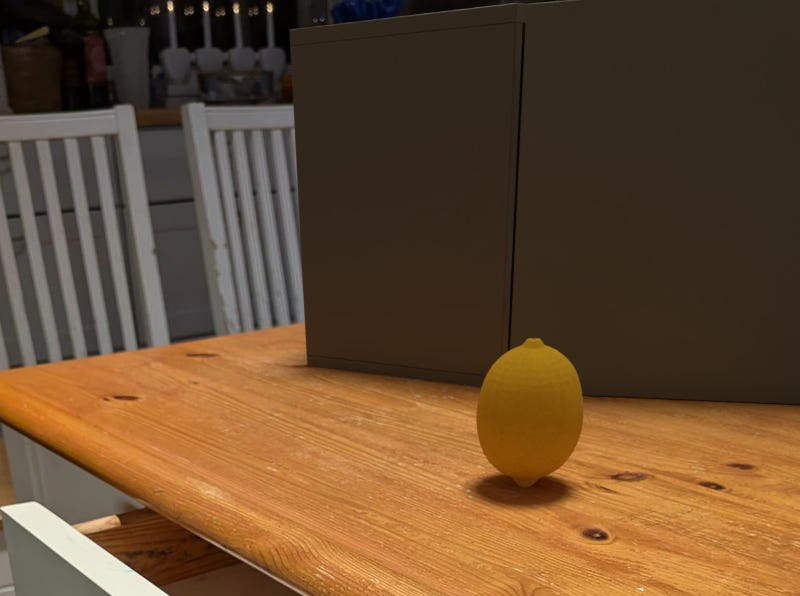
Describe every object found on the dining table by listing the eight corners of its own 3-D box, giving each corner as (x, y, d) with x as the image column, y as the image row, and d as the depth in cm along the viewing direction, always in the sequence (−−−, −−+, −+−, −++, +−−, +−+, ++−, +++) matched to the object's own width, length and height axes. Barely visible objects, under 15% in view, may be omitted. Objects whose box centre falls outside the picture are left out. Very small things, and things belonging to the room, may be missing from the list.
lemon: (466, 501, 51) (471, 348, 47) (482, 468, 56) (487, 326, 52) (573, 508, 50) (586, 351, 46) (580, 473, 54) (593, 327, 50)
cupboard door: (933, 441, 56) (1067, -58, 44) (488, 418, 64) (505, -7, 53) (911, 405, 62) (1022, -38, 51) (510, 388, 71) (528, 4, 59)
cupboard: (631, 326, 88) (664, 18, 77) (499, 391, 71) (516, 2, 59) (460, 313, 98) (467, 38, 87) (306, 367, 80) (289, 29, 69)
